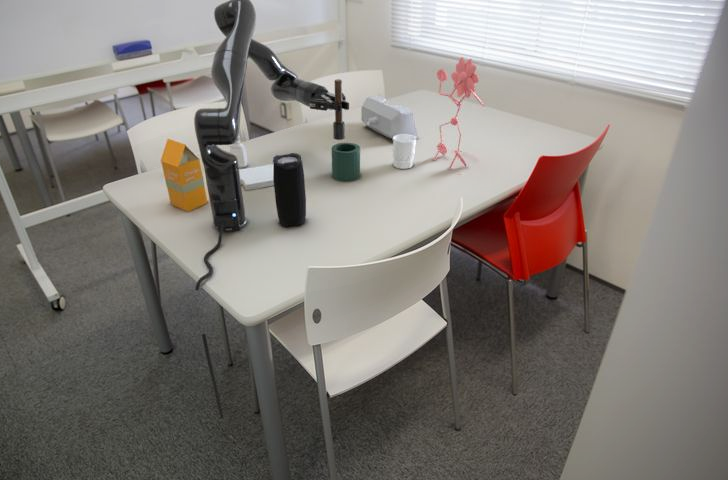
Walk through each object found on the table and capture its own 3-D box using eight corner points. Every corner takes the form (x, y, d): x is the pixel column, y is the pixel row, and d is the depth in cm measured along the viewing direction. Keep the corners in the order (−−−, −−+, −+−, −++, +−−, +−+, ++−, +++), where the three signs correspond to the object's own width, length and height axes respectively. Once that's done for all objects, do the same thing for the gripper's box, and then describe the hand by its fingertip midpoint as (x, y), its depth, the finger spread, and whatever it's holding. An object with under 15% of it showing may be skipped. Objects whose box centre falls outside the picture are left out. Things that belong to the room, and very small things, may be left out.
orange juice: (190, 195, 164) (178, 134, 153) (207, 202, 159) (196, 140, 148) (170, 204, 159) (156, 142, 148) (187, 212, 154) (174, 148, 143)
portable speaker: (302, 212, 153) (298, 149, 142) (310, 226, 145) (307, 162, 134) (274, 216, 151) (268, 153, 140) (281, 231, 143) (275, 166, 132)
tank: (351, 128, 213) (351, 98, 206) (383, 122, 220) (384, 92, 213) (385, 147, 195) (386, 115, 188) (418, 139, 202) (420, 107, 195)
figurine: (462, 178, 170) (476, 69, 150) (419, 153, 189) (426, 53, 170) (498, 169, 175) (516, 63, 156) (453, 145, 195) (464, 48, 175)
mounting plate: (281, 167, 181) (280, 162, 179) (291, 182, 170) (291, 176, 169) (230, 176, 175) (230, 171, 174) (239, 191, 165) (238, 186, 164)
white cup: (388, 167, 179) (389, 140, 173) (396, 159, 185) (398, 132, 179) (409, 171, 176) (411, 143, 170) (417, 163, 182) (419, 136, 176)
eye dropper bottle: (237, 169, 180) (233, 136, 173) (230, 164, 184) (226, 132, 177) (248, 166, 182) (244, 133, 176) (241, 161, 186) (237, 129, 179)
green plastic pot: (361, 180, 170) (361, 152, 165) (333, 182, 170) (332, 153, 164) (357, 169, 178) (358, 141, 173) (331, 170, 178) (330, 143, 172)
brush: (345, 139, 162) (344, 81, 152) (334, 140, 162) (332, 82, 151) (344, 135, 165) (343, 78, 155) (333, 136, 165) (331, 78, 154)
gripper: (293, 87, 161) (326, 99, 150) (328, 79, 168) (362, 90, 157) (295, 110, 165) (326, 124, 154) (329, 102, 172) (362, 114, 161)
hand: (344, 107), depth 155 cm, fingers closed on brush, 2 cm apart
